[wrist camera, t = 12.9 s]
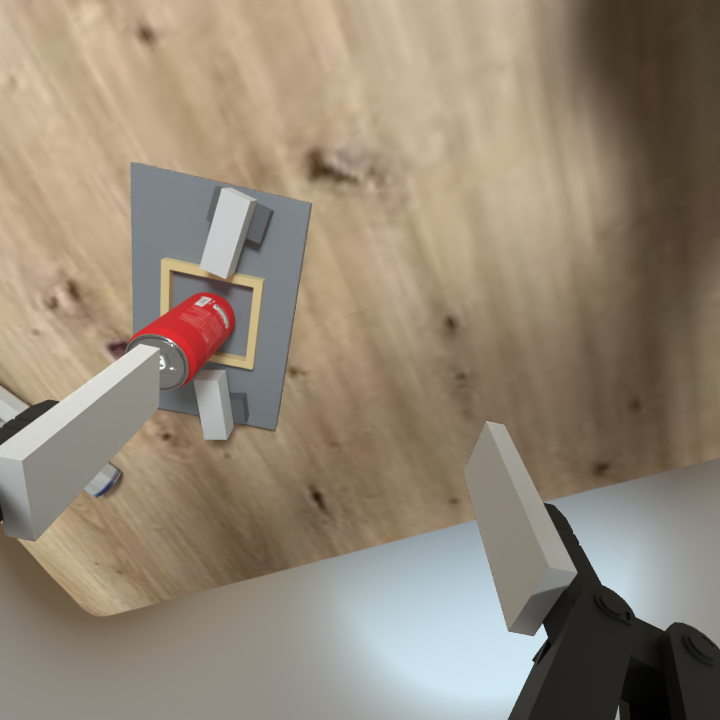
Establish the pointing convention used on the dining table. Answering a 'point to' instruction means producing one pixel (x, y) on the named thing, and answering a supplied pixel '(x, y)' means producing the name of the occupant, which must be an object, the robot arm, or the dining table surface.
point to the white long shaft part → (7, 406)
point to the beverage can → (187, 337)
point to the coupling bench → (220, 285)
